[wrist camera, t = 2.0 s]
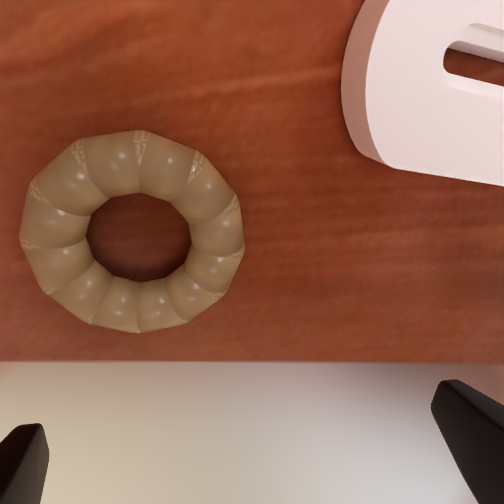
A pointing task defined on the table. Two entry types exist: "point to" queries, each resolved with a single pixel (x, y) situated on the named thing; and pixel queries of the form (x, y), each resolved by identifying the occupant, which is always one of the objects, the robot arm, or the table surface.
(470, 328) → the table surface
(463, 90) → the bracket
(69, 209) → the segmented ring
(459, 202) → the table surface
